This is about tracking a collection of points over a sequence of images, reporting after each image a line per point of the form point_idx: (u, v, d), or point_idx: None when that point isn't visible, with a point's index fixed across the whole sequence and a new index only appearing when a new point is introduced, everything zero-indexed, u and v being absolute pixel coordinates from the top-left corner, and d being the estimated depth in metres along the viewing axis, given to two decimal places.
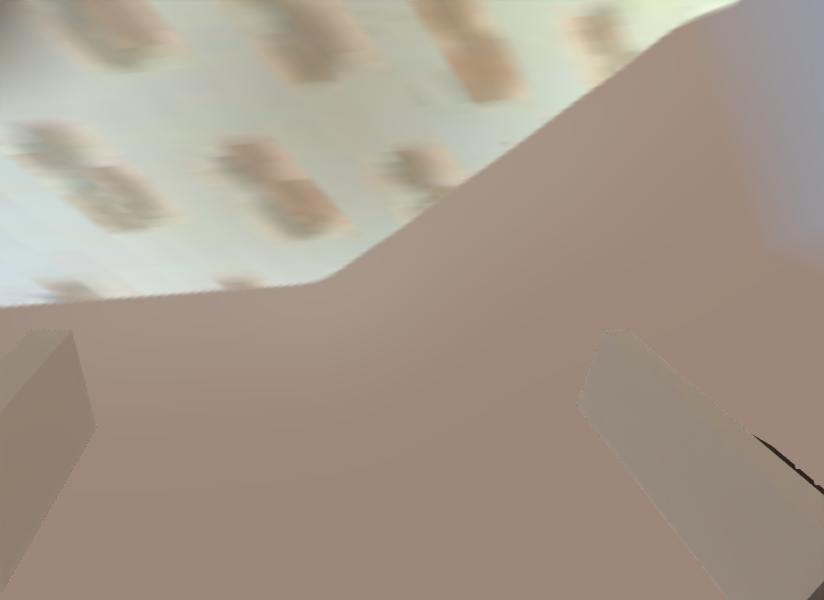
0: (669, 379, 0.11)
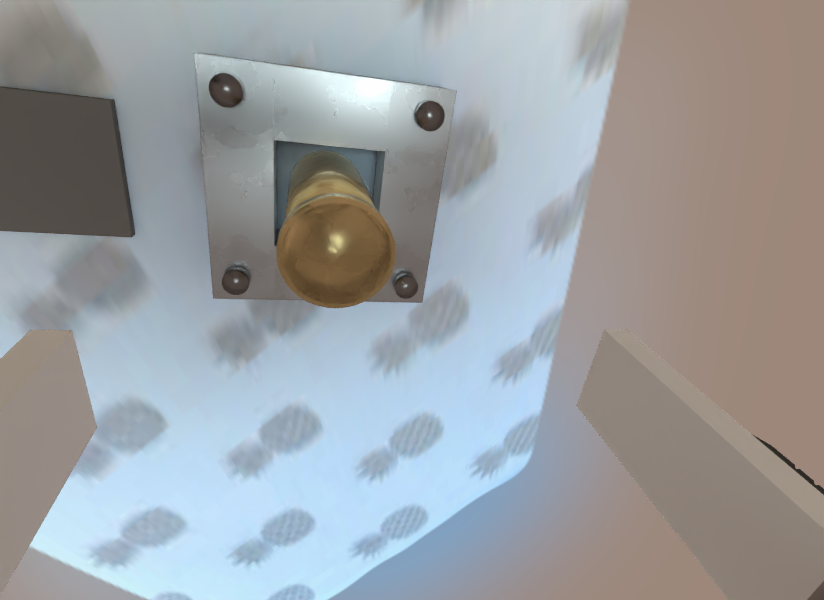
0: (669, 379, 0.11)
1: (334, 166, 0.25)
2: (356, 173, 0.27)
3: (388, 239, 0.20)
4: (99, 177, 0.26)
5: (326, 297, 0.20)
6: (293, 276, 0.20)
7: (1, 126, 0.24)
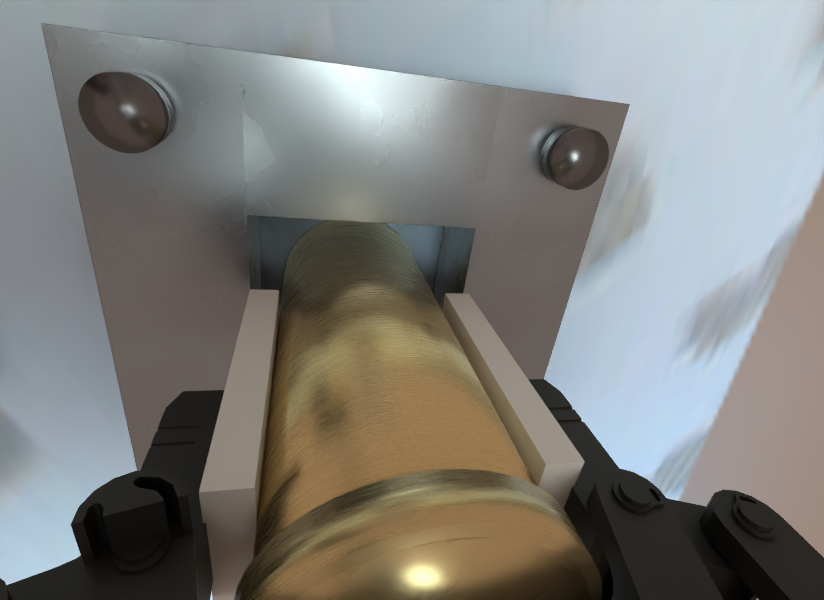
0: (479, 333, 0.11)
1: (378, 273, 0.11)
2: (418, 273, 0.13)
3: (586, 590, 0.06)
4: None
5: None
6: None
7: None
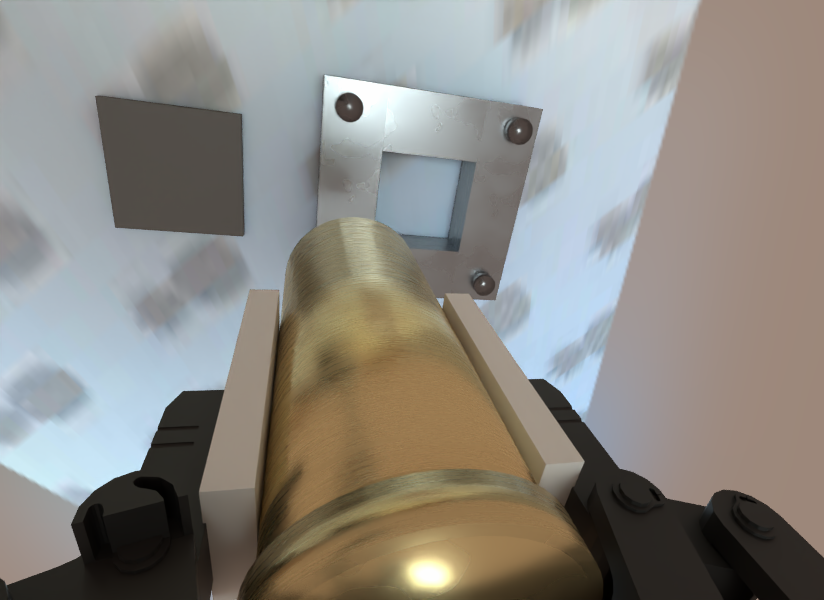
0: (479, 333, 0.11)
1: (379, 273, 0.11)
2: (419, 274, 0.13)
3: (587, 589, 0.06)
4: (222, 182, 0.30)
5: None
6: None
7: (146, 136, 0.28)
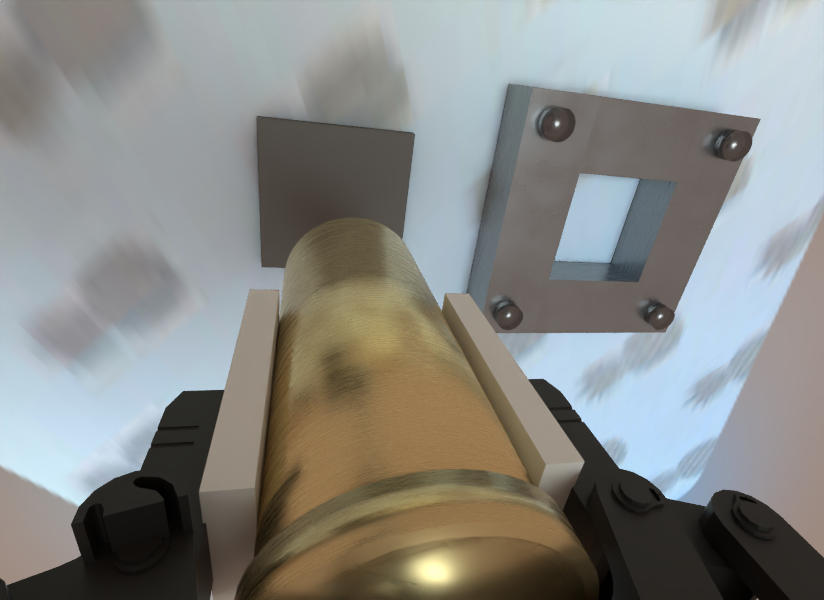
0: (479, 333, 0.11)
1: (378, 274, 0.11)
2: (417, 274, 0.13)
3: (583, 589, 0.06)
4: (384, 212, 0.25)
5: None
6: None
7: (308, 162, 0.23)
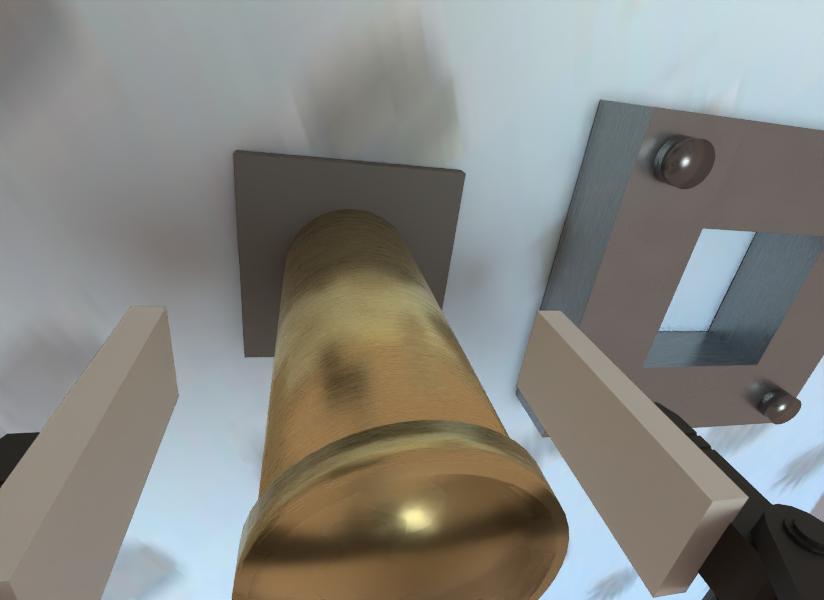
0: (588, 354, 0.11)
1: (373, 259, 0.12)
2: (411, 261, 0.14)
3: (554, 531, 0.07)
4: None
5: None
6: None
7: (311, 215, 0.16)
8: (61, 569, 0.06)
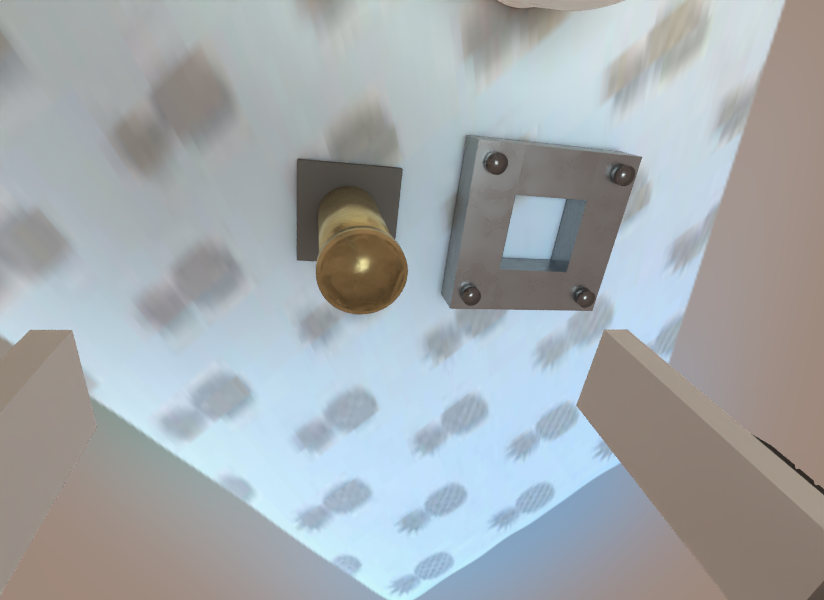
0: (669, 379, 0.11)
1: (357, 200, 0.31)
2: (374, 205, 0.32)
3: (401, 260, 0.25)
4: None
5: (353, 306, 0.26)
6: (328, 289, 0.25)
7: (330, 188, 0.35)
8: None
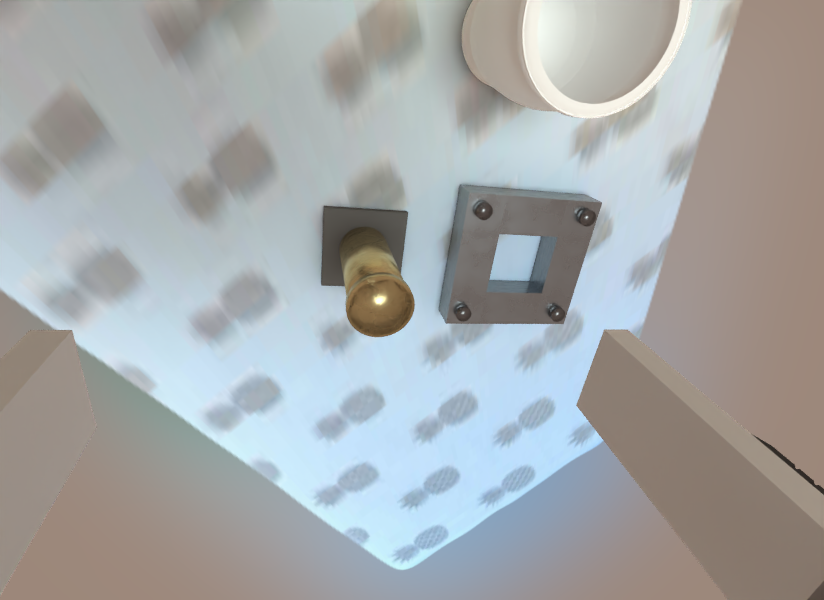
0: (669, 379, 0.11)
1: (373, 244, 0.39)
2: (386, 245, 0.41)
3: (410, 297, 0.34)
4: None
5: (373, 331, 0.35)
6: (355, 319, 0.34)
7: (350, 229, 0.43)
8: None
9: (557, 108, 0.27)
